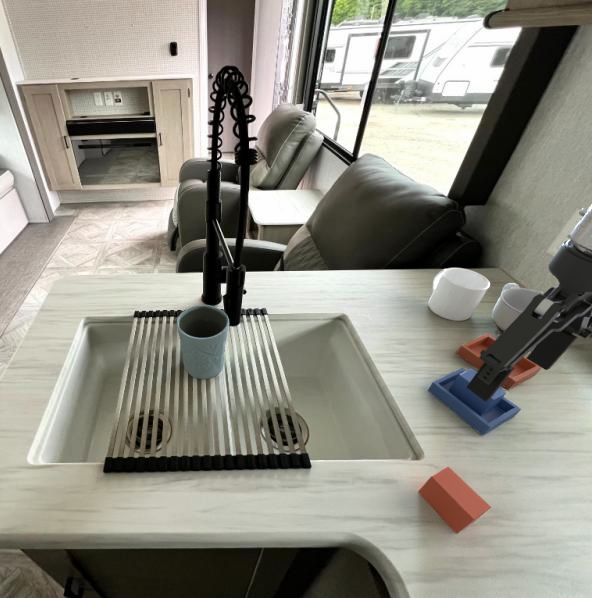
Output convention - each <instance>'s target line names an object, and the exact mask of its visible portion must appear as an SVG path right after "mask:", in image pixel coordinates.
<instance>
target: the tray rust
mask: <svg viewBox="0 0 592 598" xmlns="http://www.w3.org/2000/svg"><path fill="white" fill-rule="evenodd" d="M496 339H497V338H495V337H493V336H491V335H490V334H489V333H486V334H483V335H481V336H478V337H477V338H474V339H472V340H470V341H468V342H466V343H463V344H462V345H460V346H459V348H458V350H457V351H456V352H455V354H456V355H457V356H458V357H460V358H461V359H462V360H464V361H466V362H467V363H468V364H470V365H471V366H473V367H474V368H476V369H477V370H479V369H480V367H481V366H482V365H483V363H484V361H483V360H481V359H480V358H479V357H480V355H481V354H480V352H481V351H482V350H485V351H486V350H487V348H488V347H489V346H490V345H491V344H492V343H493V342H494V341H495V340H496ZM527 357H528V356H526V355H525V356H524V357H523V358H522V359H520V360H519V361H518V362H517V363H516V364H515V365H514V366H513V367H514V368H515V369H514V370H513V371H512V373H511V374H510V375H509V376H508V377H507V379H506V380H505V381H504V382H503V384H502V385H501V387H503V388H505V389H506V390H508V391H509V390H512V389H513V388H515V387H516V386H519V385H521V384H522V383H524V382H525V381H528V380H529V379H531V378H533V377H535V376H536V375H537V374H538V373H539V372H540V371H541V369H542V368H541V367H540V366H538V365H536V364H535V363H533V362H532V361H530V360H528V359H527Z"/></svg>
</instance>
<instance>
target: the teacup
mask: <svg viewBox="0 0 592 598" xmlns="http://www.w3.org/2000/svg"><path fill="white" fill-rule="evenodd" d="M544 293H545V292H543V291H539V290H537V289H531V288H525V287H520V286H519V284H517V283H515V282H508V283H506V284H505V285H504V286H503V287H502V290H501V293H500V296H499V298H498V300H497V302H496V303H495V305H494V307H493V309H492V313H491V317H492V320H493V322H494V323H495V324H496V326H498V328H499V329H500V330H501V331H503V332H504V331H505V330H506V329H507V328H508V327H509V326H510V325H511V324H512V323H513V322H514V320H515V319H516V318H517V317H518V316H519V315H520V314H521V313H522V312H523V311H524V310H525V309H526V307H527V306H528V305H529V304H530V302H531V301H532V300H533V298H534V297H535V296H537V295H538V294H542V295H543V294H544ZM554 322H558V321H555V320H554Z"/></svg>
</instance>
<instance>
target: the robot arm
mask: <svg viewBox="0 0 592 598" xmlns="http://www.w3.org/2000/svg"><path fill="white" fill-rule="evenodd" d="M578 211H579V212H578V214H579V216H581V217H582V218H581V219H580V221H578V223H577V224H576V226H575V227H574V228H573V230H572V231H571V232H570V239H567V240H565V241H564V242H563V243H562V245H561V246H560V247H559V249H557V250H558V251H556V253H555V254H554V256H553V257H552V259H551V260H550V261H549V263H548V267H547V268H548V271H549V273H550V274H551V275H552V276H554V278H555V279H556V280H557V281H558V283H559V284H558V285H557V286H556V287H554V286H551V287H550V288H549V289H547V290H546V291H545V292H543V293H544V294H543V295H542V294H538V295H537V296H535V297H534V298H533V300H532V301H531V302H530V304H529V305H528V306H527V307H526V309H525V310H524V311H523V312H522V313H521V314H520V315H519V316H518V317H517V318H516V319H515V320H514V322H513V323H512V324H511V325H510V326H509V327H508V328H507V329H506V330H505V331H503V332H502V333H500V334H499V336H498V337H497V338H495V339H496V340H495V341H494V342H493V343H492V344H491V345H490V346H489V347H488V348H487V350H486V351H485V350H482V351H481V352H480V354H481V355H480V357H479V358H480V359H481V360H483V361H484V363H483V365H482V366H481V367H480V369H477V371H476V372H477V373H476V374H475V376H474V377H473V379H472V380H471V381H470V383H469V384H468V386H467V387H466V388H468V389H469V390H470V391H472V392H473V393H474V394H476V395H477V396H478V397H480V398H481V399H482V400H484V401H485V402H486V401H488V400H490V399H491V397H492V396H493V395H494V394H495V392H496V391H497V390H498V389H499V388H501V387H502V384H503V382H504V381H505V380H506V379H507V377H508V376H509V375H510V374H511V373H512V371H513V370H514V369H515V368H514V367H513V366H514V365H515V364H516V363H517V362H518V361H519V360H520V359H522V358H523V357H524V356H525V357H527V359H528V360H530V361H532V362H533V363H535V364H536V365H538V366H540V367H541V369H543V370H544V371H548V370H550V369H551V368H552V367H553V366H554V365H555V364H556V362H557V361H558V360H559V359H560V358H561V357H562V356H563V355H564V353H565V352H566V351H567V350H568V349H569V348H570V347H571V346H572V345H573V343H574V342H575V341H576V340H577V339H578V336H579V337H581V338H583V339H588V338H589V337H590V336H591V335H592V331H591V330H589V329H590V328H592V204H590V205H589V207H583V208H581V209H579V210H578ZM554 320H555V321H558V322H554ZM587 328H588V329H587ZM576 335H577V336H576Z"/></svg>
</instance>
